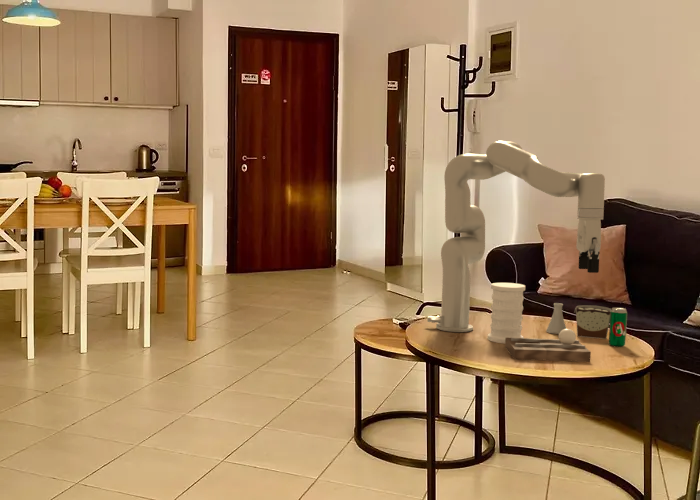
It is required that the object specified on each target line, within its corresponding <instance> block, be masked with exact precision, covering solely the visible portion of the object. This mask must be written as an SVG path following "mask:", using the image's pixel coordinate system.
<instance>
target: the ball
mask: <svg viewBox="0 0 700 500" xmlns="http://www.w3.org/2000/svg"><path fill="white" fill-rule="evenodd" d="M576 338H577V334H576V333H575V331H574V330H573V329H571V328H566V329H563V330H562V331H561V332H560V333H559V334H558V339H559V341H560V342H561V343H562V344H564V345H571V344H573V343H574V342H575V340H577V339H576Z"/></svg>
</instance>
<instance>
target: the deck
mask: <svg viewBox="0 0 700 500" xmlns="http://www.w3.org/2000/svg"><path fill="white" fill-rule="evenodd" d="M504 348H505V349H506V351H507V352H508V353H509V354H510V356H511V357H512V358H513V360H522V361H523V360H525V361H526V360H527V361H550V362H551V361H555V362H556V361H557V362H582V363H590V362H591V353H592V352H591V350H589V349H588V348H587V347H586V345H584V344H582V343H581V342H580V340H578V339H575V342H574V343H573V344H571V345H564V344H562V343H561V342H560V341H559V338H558V339H556V338H555V339H554V338H530V337H529V338H528V337H526V338H525V337H524V338H505V343H504Z"/></svg>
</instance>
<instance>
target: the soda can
mask: <svg viewBox="0 0 700 500" xmlns="http://www.w3.org/2000/svg"><path fill="white" fill-rule="evenodd" d="M627 322H628V311H627V309H626V307H625V308H624V307H612V308H611V313H610V322H609V328H608V331H609V332H608V345H609V346H612V347H614V346H615V347H616V348H623V347H625V345H626V338H627V337H626V336H627V324H628V323H627ZM615 347H614V348H615Z"/></svg>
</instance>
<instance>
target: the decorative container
mask: <svg viewBox="0 0 700 500" xmlns="http://www.w3.org/2000/svg"><path fill="white" fill-rule="evenodd" d="M490 289H492V295H491V300H492V303H491V314H490V319H491V322H490V326H489V327H490V332H489V333H488V334H487V340H488V341H490V342H494V343H499V344H505V338H525V337H524V336H523V335H522V330H523V325H522V321H523V320H524V319H523V317H524V316H523V310H524V306H523V302H524V299H525V298H524V292H525V291H526V285H525V284H522V283H516V282H515V283H514V282H493V283H491V286H490Z"/></svg>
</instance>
